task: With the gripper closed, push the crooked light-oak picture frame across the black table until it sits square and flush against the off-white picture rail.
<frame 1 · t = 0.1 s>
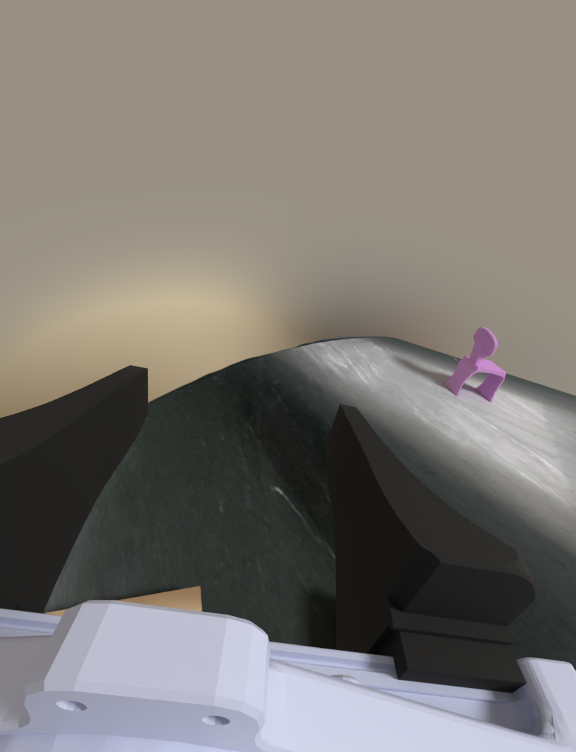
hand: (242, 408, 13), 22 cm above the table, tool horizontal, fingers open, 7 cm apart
frame: (115, 748, 19), on the table
toy chair: (467, 393, 77), on the table
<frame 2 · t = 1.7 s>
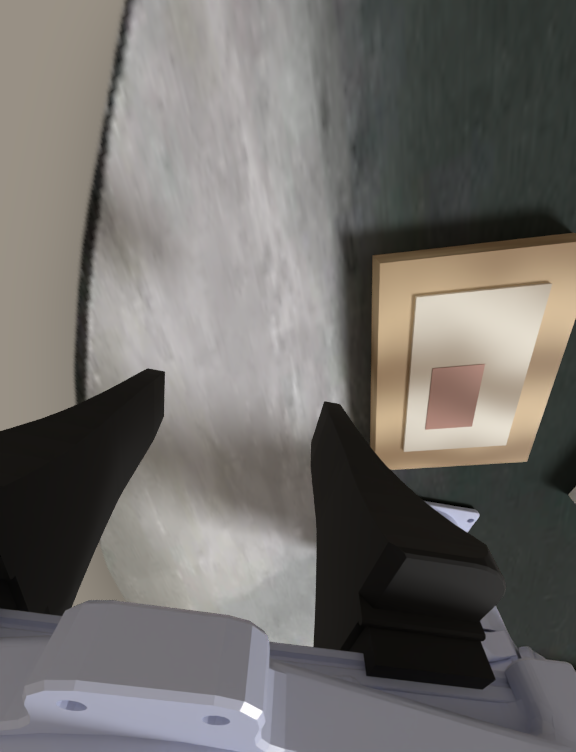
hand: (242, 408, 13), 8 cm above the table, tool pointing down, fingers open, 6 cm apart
frame: (449, 359, 21), on the table
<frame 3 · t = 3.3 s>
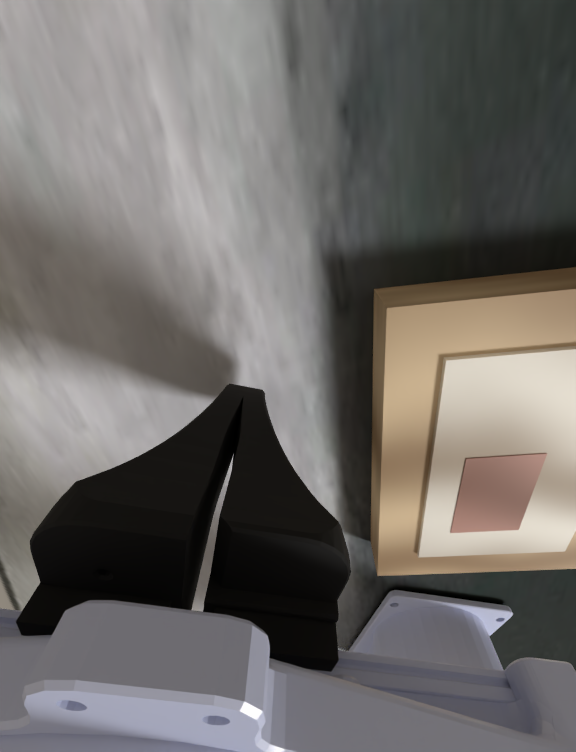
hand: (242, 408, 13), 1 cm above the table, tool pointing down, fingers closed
frame: (483, 429, 15), on the table
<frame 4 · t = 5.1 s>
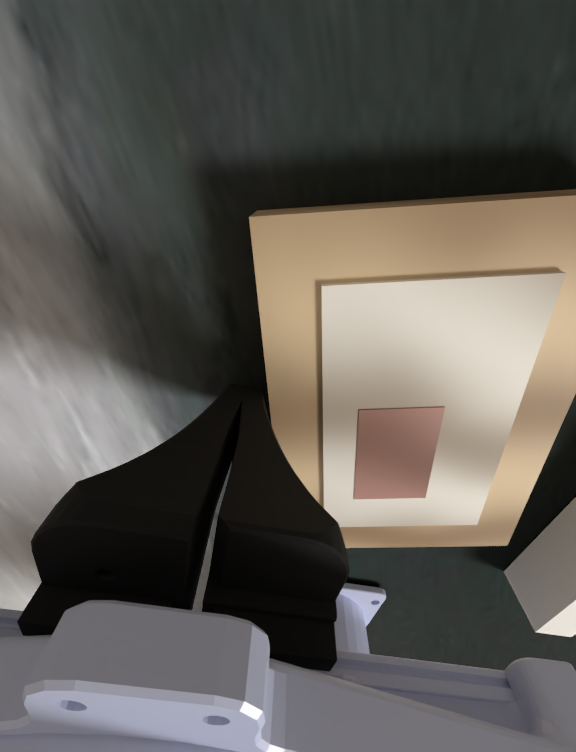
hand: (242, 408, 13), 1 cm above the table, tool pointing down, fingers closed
frame: (396, 390, 14), on the table, touching gripper
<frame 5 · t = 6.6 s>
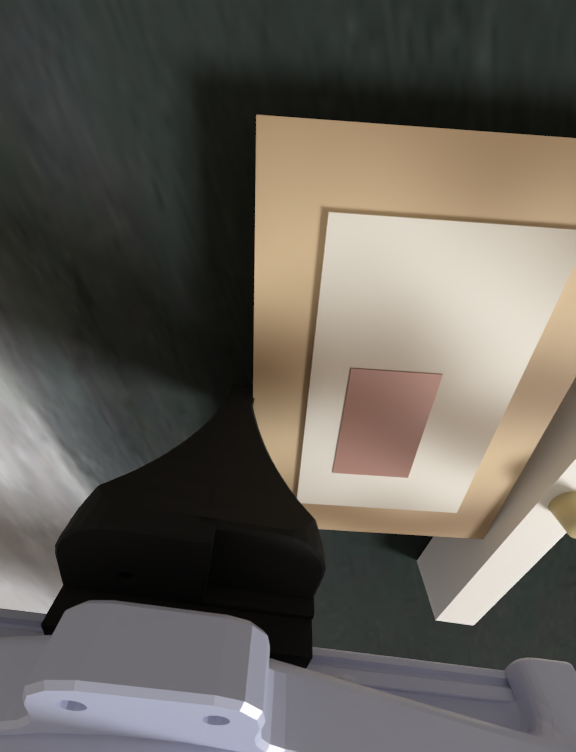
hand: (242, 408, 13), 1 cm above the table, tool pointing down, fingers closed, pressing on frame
frame: (389, 361, 13), on the table, touching gripper, rail
rail: (519, 446, 15), on the table
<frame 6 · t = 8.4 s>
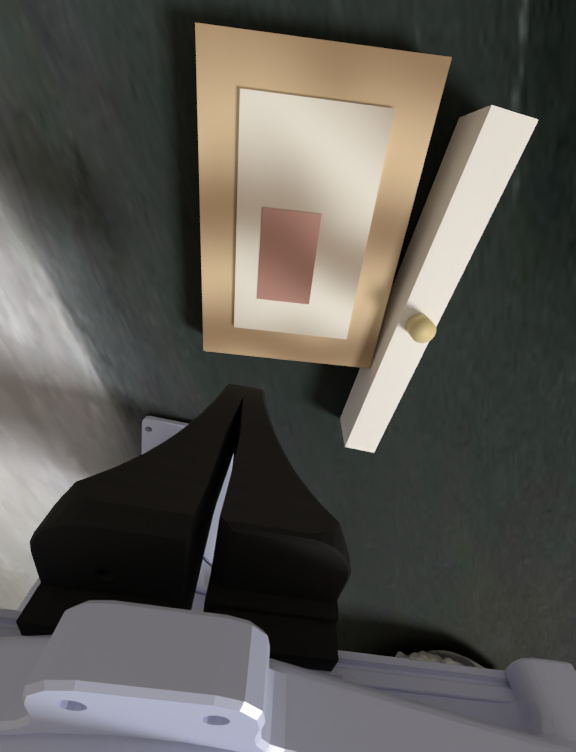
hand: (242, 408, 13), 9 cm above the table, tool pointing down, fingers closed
rice ball: (432, 670, 47), on the table
frame: (301, 228, 18), on the table
rail: (401, 305, 20), on the table
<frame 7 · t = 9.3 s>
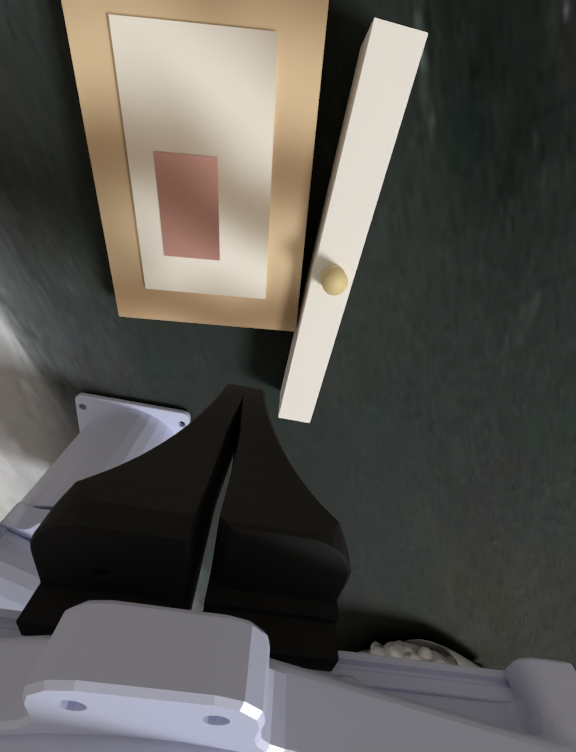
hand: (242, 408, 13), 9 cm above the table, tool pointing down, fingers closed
rice ball: (414, 661, 45), on the table
frame: (213, 181, 17), on the table
rail: (328, 263, 19), on the table
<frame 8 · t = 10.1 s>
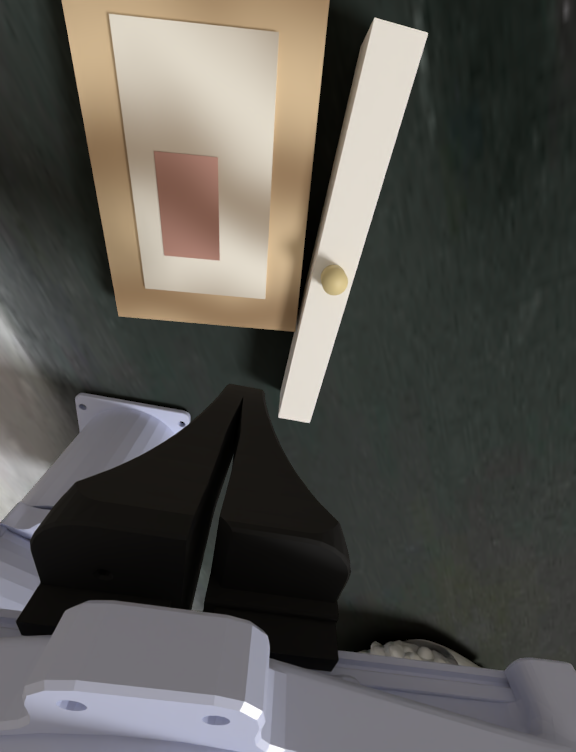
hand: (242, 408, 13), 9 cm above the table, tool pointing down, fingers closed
rice ball: (414, 661, 45), on the table
frame: (213, 181, 17), on the table
rail: (328, 263, 19), on the table
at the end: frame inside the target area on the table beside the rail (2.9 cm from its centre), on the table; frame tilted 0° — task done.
